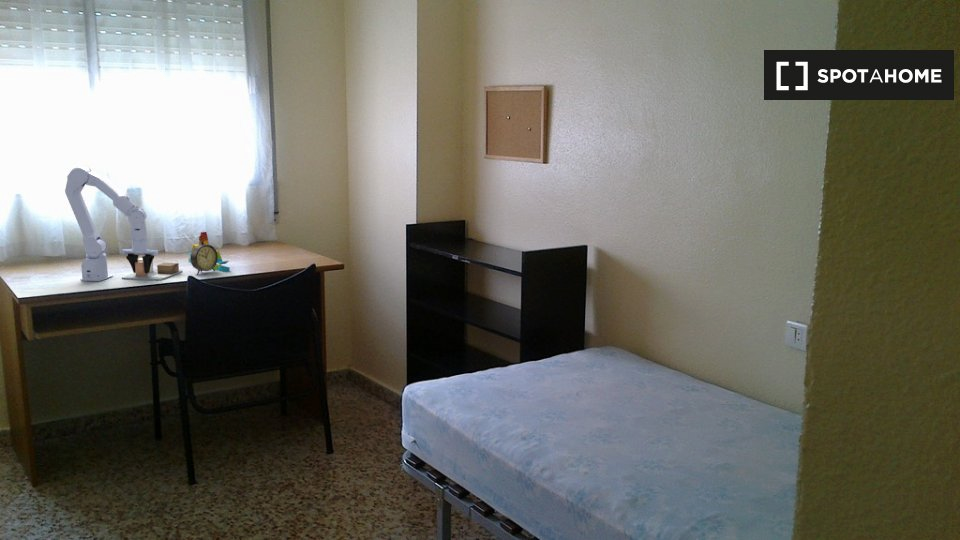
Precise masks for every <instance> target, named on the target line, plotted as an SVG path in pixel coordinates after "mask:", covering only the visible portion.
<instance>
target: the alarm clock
mask: <svg viewBox="0 0 960 540" xmlns="http://www.w3.org/2000/svg"><path fill="white" fill-rule="evenodd" d="M200 234H201V233H200ZM201 235H204V234H201ZM201 235H199V237H198V241H200V236H201ZM204 237H205V235H204ZM205 239H206V237H205ZM204 241H205V240H204ZM204 241H200V242H201V243H202V244H201V245H197V246H196V247H195V248H194V249H193V250H192V249H191V252H190V253H191V255H189V256H190V257H189V258H190V260H191V263H190V264H191V266H192V267H193V269H195V270H197V273H196V275H197V276H199V274H200V273H202V272H210V271H212V270H213V272H216V270H214V267H215V266H216V264H218V263H217V260H218V255H217V250H216V248H215V247H214V246H213V245H211V244H209V245H204V243H203V242H204Z"/></svg>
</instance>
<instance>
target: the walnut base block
mask: <svg viewBox="0 0 960 540" xmlns="http://www.w3.org/2000/svg"><path fill="white" fill-rule="evenodd" d="M179 267H180V266H179V262H163V263H162V262H161V263H159V264H157V265H156V268H157V271H158V274H173V273H176V272H179V270H180V268H179Z"/></svg>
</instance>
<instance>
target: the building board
mask: <svg viewBox="0 0 960 540" xmlns="http://www.w3.org/2000/svg"><path fill="white" fill-rule="evenodd" d="M181 273H183V270H180V269H179V272H176V273H173V274H158V271H157V269H156V268H153V271H152V272H150V273H148V275H147V276H144V277H137V276H136V273H131V274H128V275H125V276H122V277H121V280H136V281H153V282H154V281H155V282H156V281H157V282H158V281H159V282H160V281H163V280H165V279H168V278H171V277H174V276H176V275H179V274H181Z"/></svg>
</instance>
